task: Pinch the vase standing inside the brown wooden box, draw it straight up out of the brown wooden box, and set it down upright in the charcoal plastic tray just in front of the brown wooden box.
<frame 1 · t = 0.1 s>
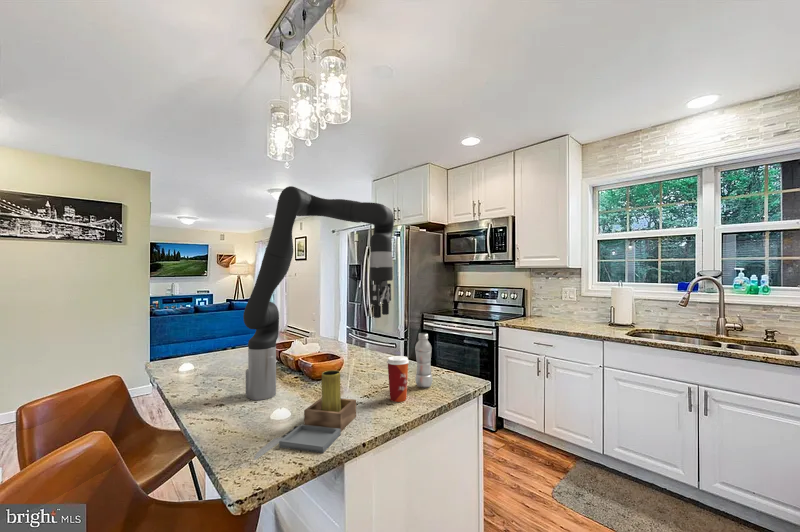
hand: (381, 316, 112), 29 cm above the counter, tool pointing down, fingers open, 8 cm apart
vase: (331, 422, 100), resting in brown wooden box
tray: (311, 440, 89), on the counter
chef's knife: (272, 445, 88), on the counter
paper cup: (398, 399, 118), on the counter
plastic bottle: (423, 387, 131), on the counter
brown wooden box: (331, 422, 100), on the counter
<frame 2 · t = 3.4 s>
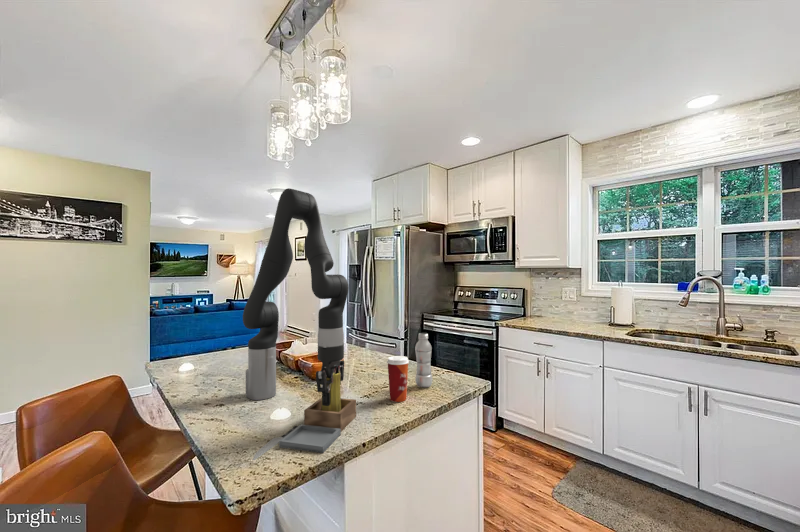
hand: (331, 401, 100), 6 cm above the counter, tool pointing down, fingers closed on vase, 5 cm apart
vase: (331, 422, 100), resting in brown wooden box, touching gripper
everything else where it was.
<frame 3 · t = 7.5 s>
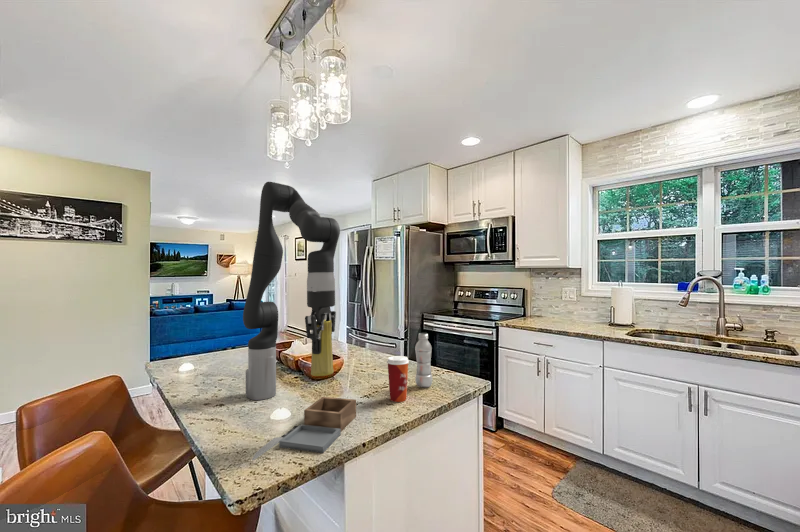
hand: (321, 351, 94), 22 cm above the counter, tool pointing down, fingers closed on vase, 5 cm apart
vase: (322, 374, 94), point 16 cm above the counter, touching gripper
everything else where it was.
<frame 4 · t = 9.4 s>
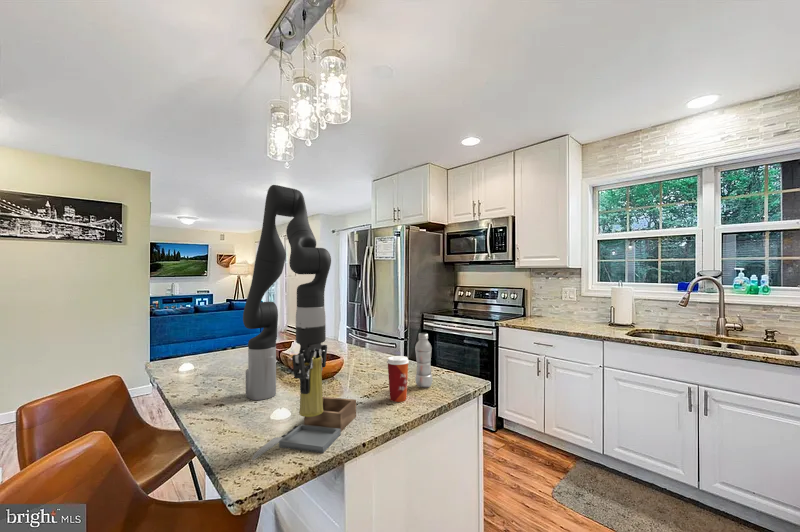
hand: (311, 389, 90), 13 cm above the counter, tool pointing down, fingers closed on vase, 5 cm apart
vase: (311, 413, 89), point 7 cm above the counter, touching gripper
everything else where it was.
when the fingers open (8 cm above the counter, at t = 11.3 s): vase drops 1 cm, resting on tray.
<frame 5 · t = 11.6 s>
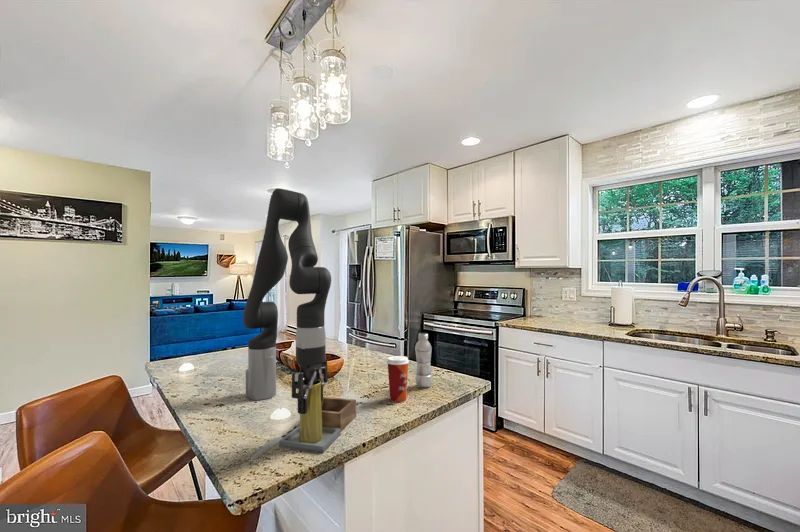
hand: (311, 407, 89), 9 cm above the counter, tool pointing down, fingers open, 8 cm apart
vase: (310, 439, 89), resting on tray
everything else where it was.
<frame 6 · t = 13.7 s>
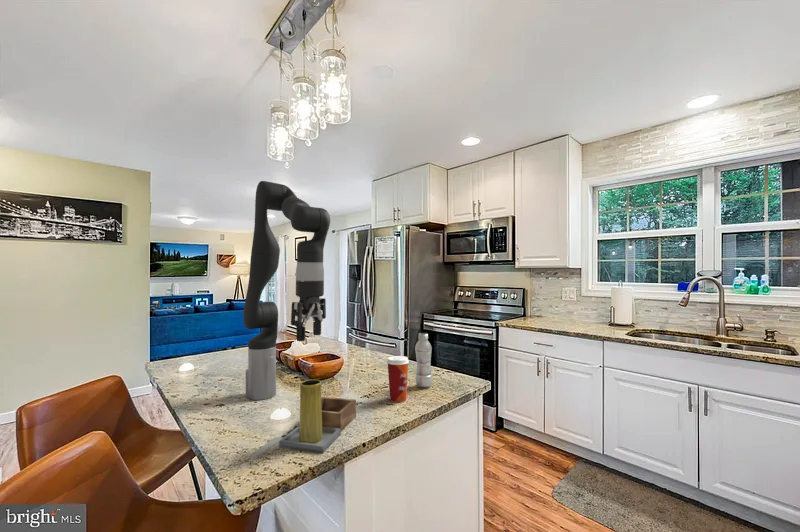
hand: (309, 337, 95), 25 cm above the counter, tool pointing down, fingers open, 8 cm apart
nothing on the counter moved.
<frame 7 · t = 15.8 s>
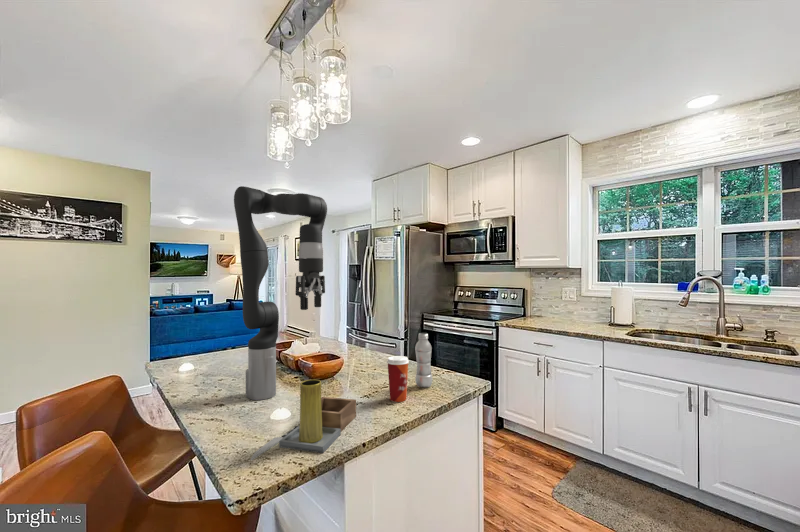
hand: (311, 308, 110), 32 cm above the counter, tool pointing down, fingers open, 8 cm apart
nothing on the counter moved.
at the end: vase 0.1 cm off-centre on the tray, point 0.4 cm above the tray's base; vase tilted 0°; the gripper is holding nothing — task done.
